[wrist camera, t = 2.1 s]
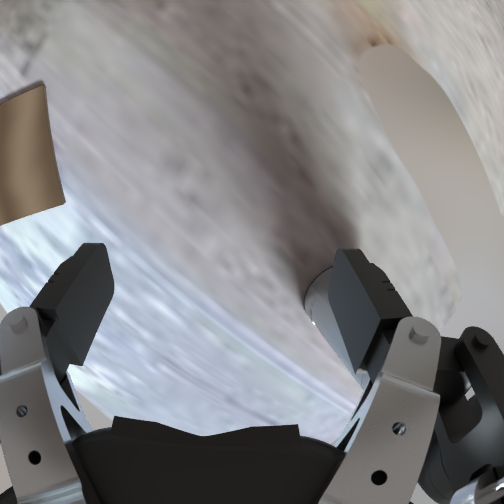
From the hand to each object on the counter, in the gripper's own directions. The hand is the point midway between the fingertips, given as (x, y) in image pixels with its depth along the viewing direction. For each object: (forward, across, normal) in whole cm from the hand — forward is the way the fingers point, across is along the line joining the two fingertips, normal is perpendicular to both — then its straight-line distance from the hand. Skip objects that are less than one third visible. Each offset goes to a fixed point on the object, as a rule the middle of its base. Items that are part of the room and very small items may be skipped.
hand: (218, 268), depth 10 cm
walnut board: (+15, +23, -2) cm, 27 cm away
